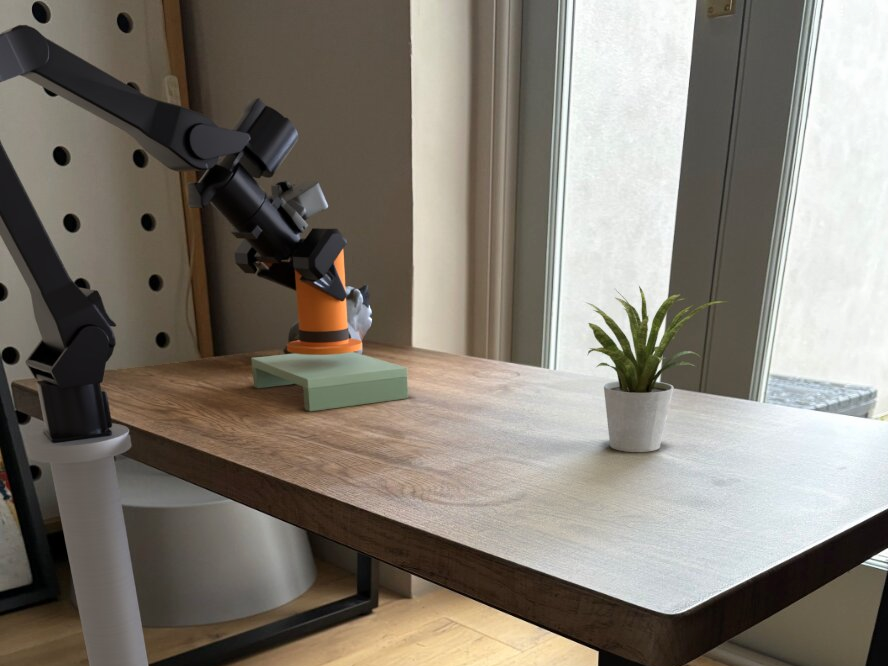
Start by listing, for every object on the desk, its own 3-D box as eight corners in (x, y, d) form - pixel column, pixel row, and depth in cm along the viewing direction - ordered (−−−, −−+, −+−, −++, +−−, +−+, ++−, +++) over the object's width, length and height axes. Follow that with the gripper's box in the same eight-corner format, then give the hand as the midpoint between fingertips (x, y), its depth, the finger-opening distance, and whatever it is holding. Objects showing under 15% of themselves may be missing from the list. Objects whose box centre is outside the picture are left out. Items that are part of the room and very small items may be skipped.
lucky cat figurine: (278, 356, 154) (303, 276, 154) (346, 382, 158) (371, 304, 158) (289, 342, 140) (316, 253, 140) (363, 370, 143) (390, 284, 143)
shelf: (309, 411, 116) (307, 379, 114) (253, 386, 131) (250, 357, 130) (408, 398, 122) (407, 367, 121) (343, 376, 138) (341, 348, 136)
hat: (344, 356, 119) (338, 247, 114) (274, 353, 121) (264, 247, 116) (373, 344, 127) (368, 243, 122) (306, 342, 130) (299, 243, 125)
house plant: (704, 429, 104) (718, 275, 97) (727, 462, 91) (745, 288, 85) (575, 429, 105) (581, 276, 98) (581, 461, 92) (588, 289, 86)
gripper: (328, 153, 106) (406, 251, 117) (246, 159, 119) (323, 247, 130) (274, 229, 105) (359, 321, 116) (197, 226, 118) (279, 310, 129)
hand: (330, 296), depth 123 cm, fingers closed on hat, 6 cm apart
